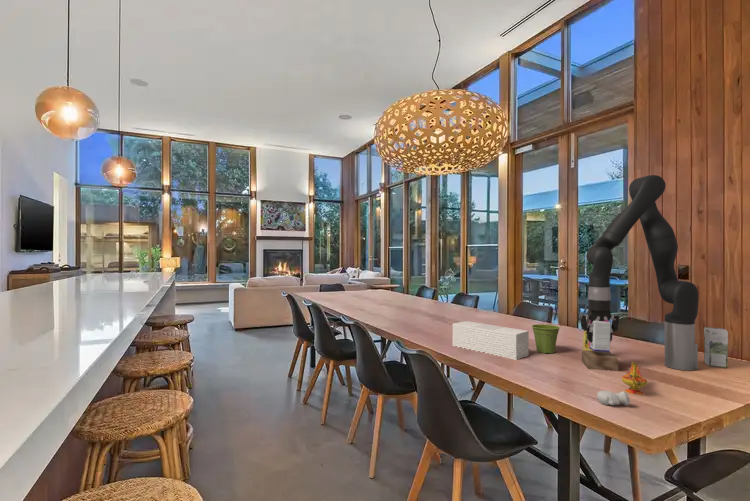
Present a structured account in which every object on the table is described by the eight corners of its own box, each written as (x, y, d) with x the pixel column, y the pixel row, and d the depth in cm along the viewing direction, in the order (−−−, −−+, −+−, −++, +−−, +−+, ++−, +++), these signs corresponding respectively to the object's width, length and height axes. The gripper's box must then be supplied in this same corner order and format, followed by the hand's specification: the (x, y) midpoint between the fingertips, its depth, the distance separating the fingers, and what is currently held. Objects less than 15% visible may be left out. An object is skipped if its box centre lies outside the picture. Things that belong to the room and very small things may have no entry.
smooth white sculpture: (598, 408, 113) (596, 397, 118) (630, 413, 110) (627, 401, 114) (597, 396, 112) (596, 385, 117) (630, 400, 109) (628, 389, 113)
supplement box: (610, 352, 148) (610, 321, 148) (593, 351, 149) (593, 321, 149) (605, 348, 153) (604, 319, 153) (588, 347, 154) (588, 318, 155)
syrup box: (722, 364, 154) (722, 327, 154) (728, 368, 148) (728, 330, 148) (703, 362, 156) (703, 326, 156) (709, 366, 151) (709, 329, 151)
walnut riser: (609, 364, 155) (609, 351, 155) (618, 372, 145) (618, 358, 145) (581, 362, 157) (581, 350, 157) (588, 369, 148) (588, 356, 148)
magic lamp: (647, 384, 130) (647, 351, 130) (647, 401, 115) (647, 364, 115) (623, 380, 134) (623, 348, 134) (620, 396, 119) (620, 360, 119)
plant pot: (561, 350, 175) (561, 325, 175) (558, 356, 165) (558, 330, 165) (533, 347, 181) (533, 323, 181) (528, 352, 171) (528, 327, 171)
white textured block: (452, 346, 184) (452, 323, 184) (465, 342, 191) (465, 320, 191) (516, 360, 160) (516, 334, 160) (528, 355, 167) (528, 330, 167)
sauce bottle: (583, 358, 162) (583, 310, 162) (581, 354, 168) (581, 308, 168) (601, 360, 160) (601, 311, 160) (599, 356, 165) (599, 309, 166)
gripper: (613, 297, 154) (613, 339, 154) (575, 297, 156) (575, 339, 155) (624, 299, 147) (624, 344, 147) (584, 299, 148) (584, 343, 148)
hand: (599, 341), depth 151 cm, fingers closed on supplement box, 6 cm apart
